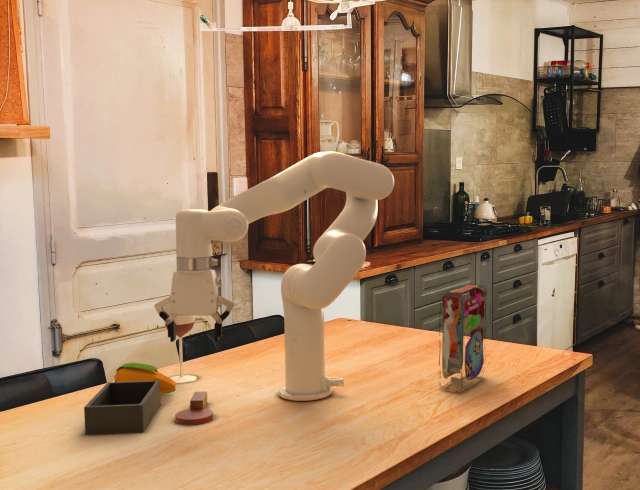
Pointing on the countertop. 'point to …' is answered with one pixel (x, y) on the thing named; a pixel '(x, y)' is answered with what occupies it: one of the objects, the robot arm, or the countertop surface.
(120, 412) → the bin
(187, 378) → the wineglass
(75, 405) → the countertop surface
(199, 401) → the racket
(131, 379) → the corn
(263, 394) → the countertop surface
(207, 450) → the countertop surface
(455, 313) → the box
